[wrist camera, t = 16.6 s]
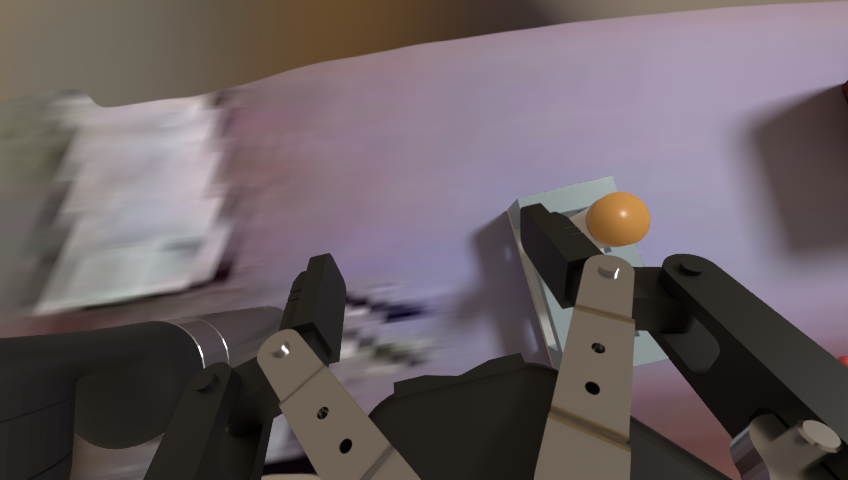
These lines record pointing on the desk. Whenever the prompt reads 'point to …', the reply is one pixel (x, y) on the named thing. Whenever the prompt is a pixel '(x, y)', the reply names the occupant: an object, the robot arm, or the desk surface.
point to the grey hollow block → (546, 306)
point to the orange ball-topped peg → (614, 220)
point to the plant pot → (846, 88)
